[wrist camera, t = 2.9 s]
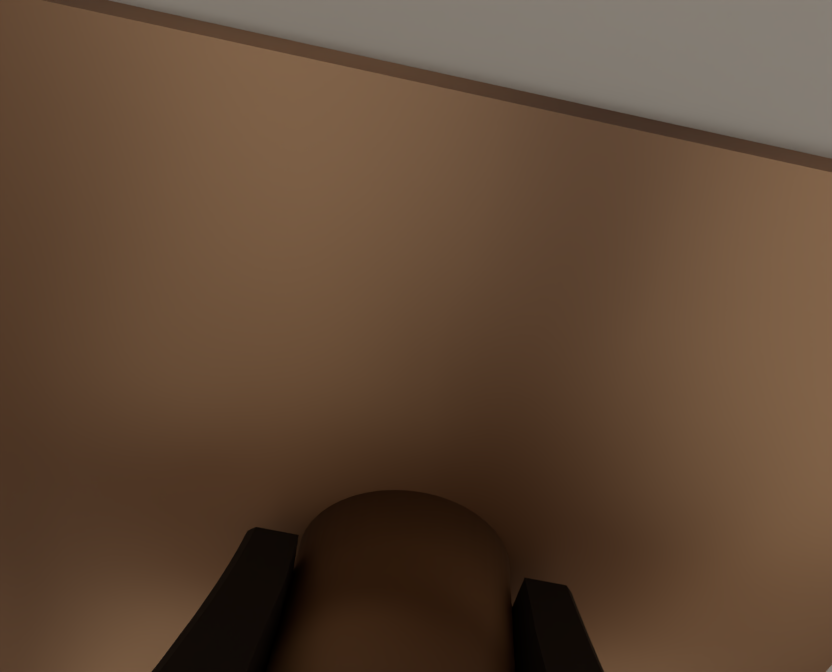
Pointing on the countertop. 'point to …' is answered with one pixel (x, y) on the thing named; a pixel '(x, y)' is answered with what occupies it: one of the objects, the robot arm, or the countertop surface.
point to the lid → (397, 359)
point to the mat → (590, 53)
